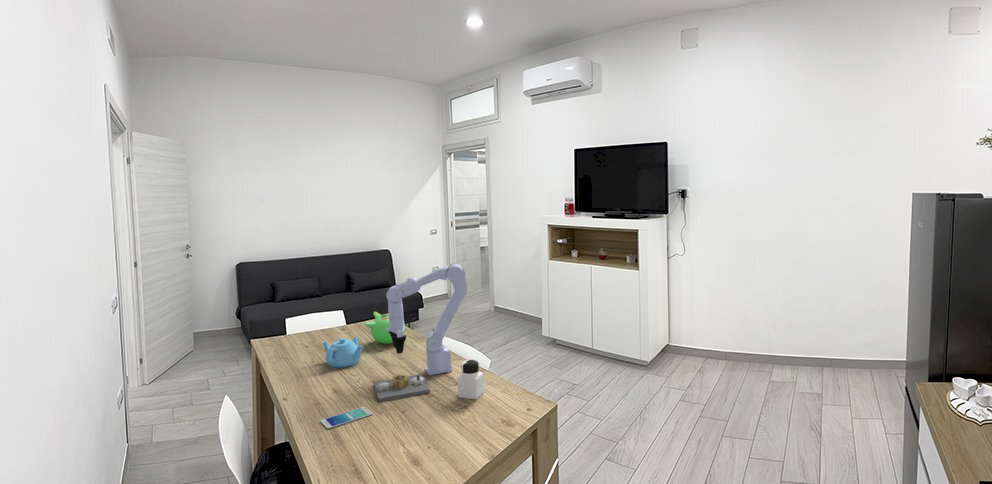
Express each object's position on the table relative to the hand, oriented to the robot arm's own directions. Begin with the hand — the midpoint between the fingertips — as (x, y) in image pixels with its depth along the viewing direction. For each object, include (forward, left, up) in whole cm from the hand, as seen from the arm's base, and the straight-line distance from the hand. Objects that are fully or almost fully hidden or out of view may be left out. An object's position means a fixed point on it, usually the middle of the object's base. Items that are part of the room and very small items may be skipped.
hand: (398, 350), depth 193 cm
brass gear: (+2, +16, -8) cm, 18 cm away
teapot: (+20, -23, -10) cm, 32 cm away
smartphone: (+22, +32, -10) cm, 40 cm away
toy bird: (-1, -43, -10) cm, 44 cm away
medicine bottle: (-20, +32, -10) cm, 39 cm away
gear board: (+2, +16, -9) cm, 19 cm away
